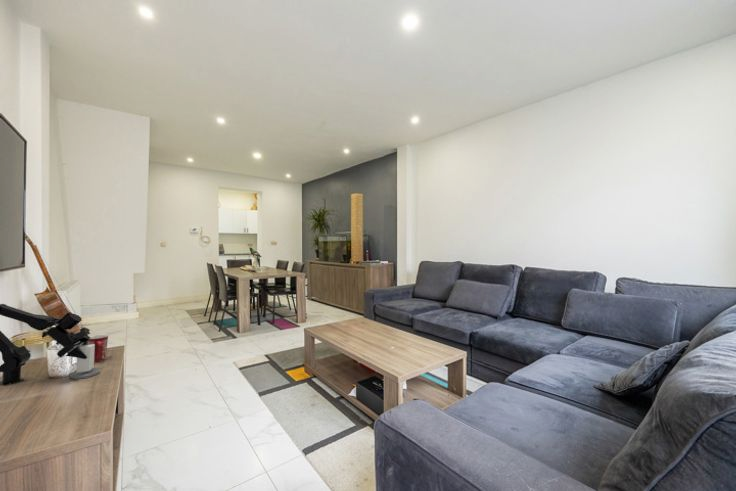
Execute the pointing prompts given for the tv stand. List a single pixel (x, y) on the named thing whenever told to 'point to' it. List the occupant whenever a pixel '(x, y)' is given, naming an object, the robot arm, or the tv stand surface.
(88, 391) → the tv stand surface
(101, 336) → the mug
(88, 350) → the block
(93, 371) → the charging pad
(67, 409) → the tv stand surface
